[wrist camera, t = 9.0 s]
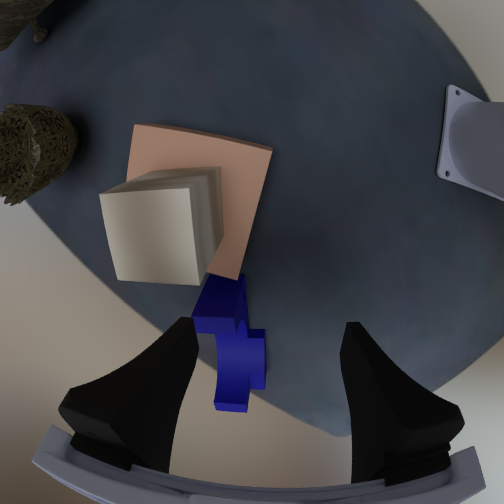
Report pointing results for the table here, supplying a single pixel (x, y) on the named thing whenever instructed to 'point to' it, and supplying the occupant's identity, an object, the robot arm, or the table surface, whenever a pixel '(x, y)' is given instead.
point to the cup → (33, 149)
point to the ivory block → (165, 225)
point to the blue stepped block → (232, 341)
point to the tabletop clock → (20, 19)
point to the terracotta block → (231, 171)
